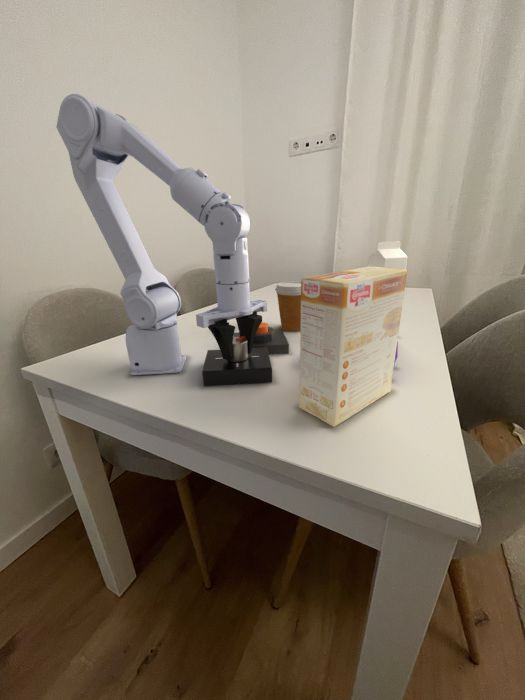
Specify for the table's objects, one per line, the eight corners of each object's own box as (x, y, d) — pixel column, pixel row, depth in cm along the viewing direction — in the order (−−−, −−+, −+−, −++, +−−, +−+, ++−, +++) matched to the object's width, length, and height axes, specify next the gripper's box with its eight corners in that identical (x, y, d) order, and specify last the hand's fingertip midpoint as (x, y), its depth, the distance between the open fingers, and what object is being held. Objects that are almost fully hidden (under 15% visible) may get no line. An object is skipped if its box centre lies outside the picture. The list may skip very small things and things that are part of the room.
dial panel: (203, 386, 53) (202, 370, 52) (209, 363, 62) (207, 349, 61) (272, 382, 53) (272, 366, 52) (267, 360, 63) (266, 346, 62)
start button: (250, 335, 67) (250, 327, 66) (250, 329, 70) (249, 322, 70) (268, 334, 67) (268, 327, 66) (267, 329, 71) (267, 321, 70)
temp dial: (235, 364, 54) (234, 344, 53) (222, 358, 57) (220, 339, 55) (252, 357, 56) (251, 338, 55) (238, 352, 59) (237, 333, 58)
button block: (233, 356, 65) (232, 339, 64) (234, 341, 74) (233, 325, 73) (288, 353, 66) (288, 336, 64) (282, 338, 75) (282, 323, 74)
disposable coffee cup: (304, 335, 77) (305, 288, 72) (270, 331, 81) (269, 286, 76) (314, 325, 85) (316, 281, 80) (283, 321, 89) (283, 280, 84)
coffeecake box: (355, 377, 55) (365, 265, 47) (392, 391, 49) (410, 269, 42) (296, 407, 46) (298, 276, 39) (334, 429, 41) (345, 282, 33)
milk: (396, 337, 74) (411, 241, 65) (374, 340, 72) (387, 242, 64) (380, 330, 79) (392, 240, 71) (360, 332, 78) (370, 241, 69)
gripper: (211, 290, 44) (218, 374, 49) (278, 278, 53) (279, 350, 58) (185, 285, 49) (194, 362, 54) (251, 275, 58) (254, 341, 63)
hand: (237, 355), depth 56 cm, fingers closed on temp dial, 4 cm apart
